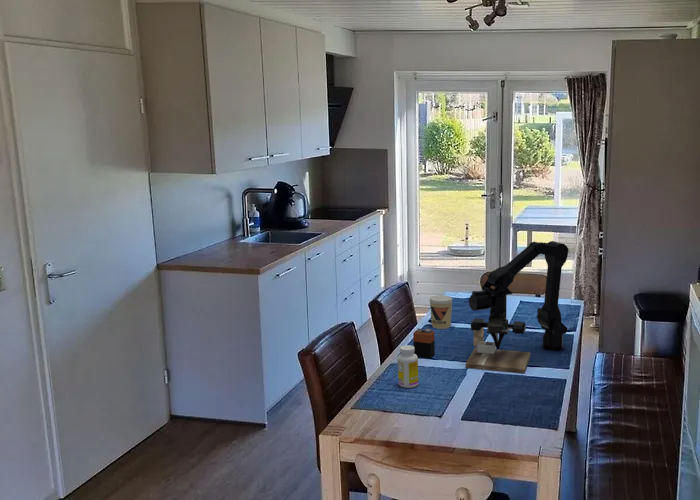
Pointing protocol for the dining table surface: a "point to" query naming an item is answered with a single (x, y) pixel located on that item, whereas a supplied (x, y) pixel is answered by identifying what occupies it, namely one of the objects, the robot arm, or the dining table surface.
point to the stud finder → (486, 347)
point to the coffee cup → (441, 311)
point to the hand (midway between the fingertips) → (498, 348)
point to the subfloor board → (499, 361)
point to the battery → (424, 343)
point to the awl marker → (478, 336)
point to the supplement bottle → (407, 367)
